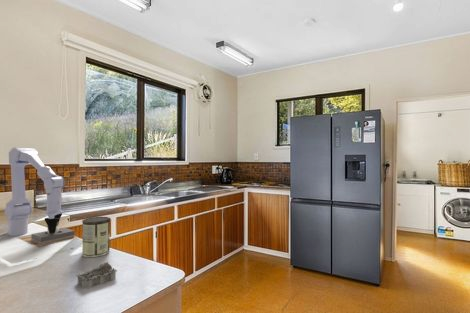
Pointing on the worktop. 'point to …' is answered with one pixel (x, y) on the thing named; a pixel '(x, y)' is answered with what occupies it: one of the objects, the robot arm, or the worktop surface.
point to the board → (28, 239)
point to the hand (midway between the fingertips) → (53, 231)
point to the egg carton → (97, 275)
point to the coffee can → (96, 236)
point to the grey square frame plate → (52, 236)
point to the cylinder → (55, 231)
